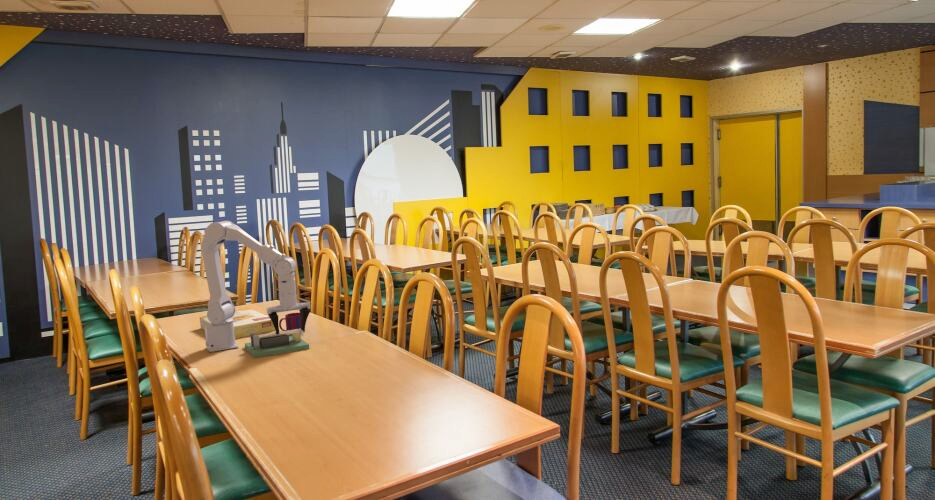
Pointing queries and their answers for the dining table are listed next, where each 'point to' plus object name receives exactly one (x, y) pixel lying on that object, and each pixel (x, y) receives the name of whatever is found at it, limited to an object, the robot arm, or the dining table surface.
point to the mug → (291, 321)
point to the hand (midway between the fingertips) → (290, 331)
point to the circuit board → (277, 348)
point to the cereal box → (246, 322)
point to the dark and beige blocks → (272, 340)
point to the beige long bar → (281, 333)
